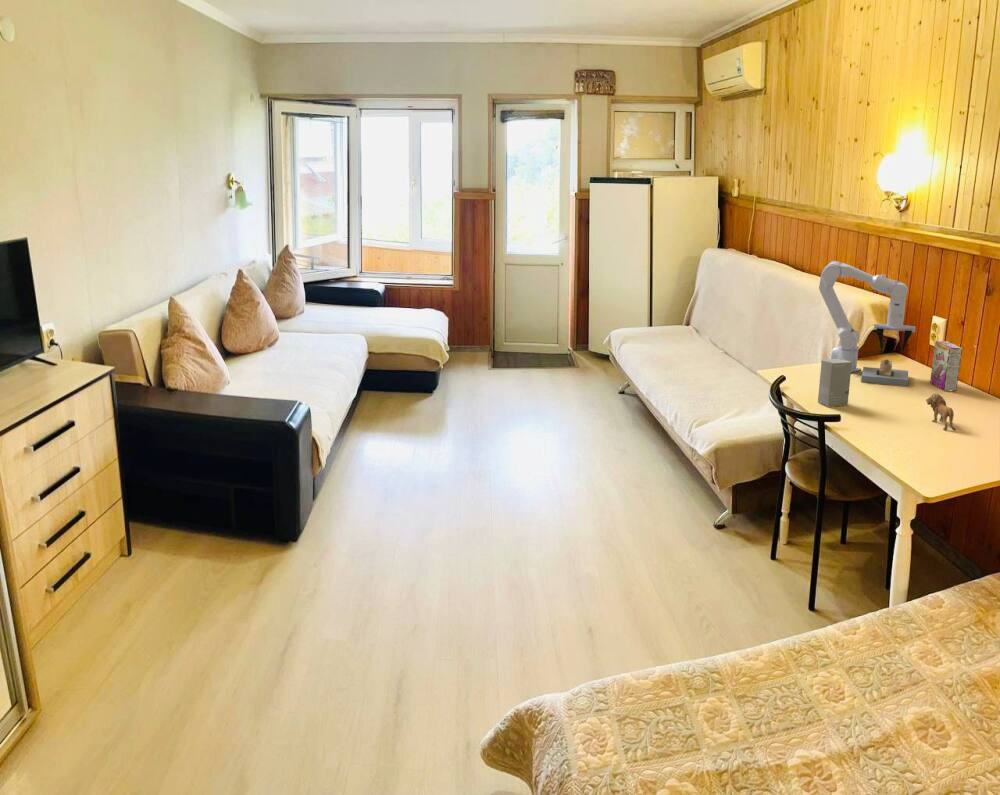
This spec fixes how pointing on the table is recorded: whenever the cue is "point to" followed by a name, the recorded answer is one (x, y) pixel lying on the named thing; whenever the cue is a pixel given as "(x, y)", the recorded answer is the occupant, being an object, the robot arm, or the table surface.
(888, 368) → the keyed plug
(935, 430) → the table surface
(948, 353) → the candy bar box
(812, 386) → the table surface
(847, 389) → the skincare box
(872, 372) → the socket plate
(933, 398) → the lion figurine
